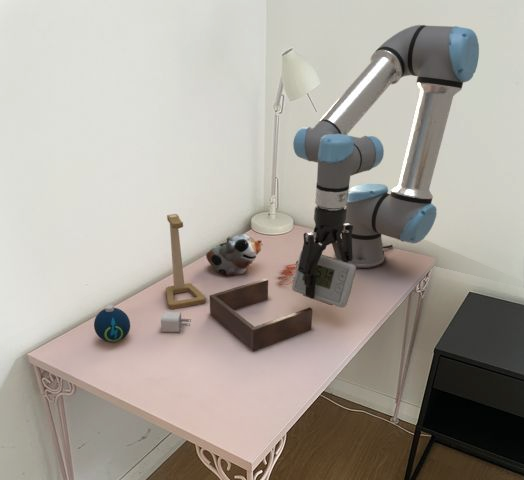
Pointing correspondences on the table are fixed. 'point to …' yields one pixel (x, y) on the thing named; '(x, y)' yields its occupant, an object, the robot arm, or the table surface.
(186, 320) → the usb wall charger
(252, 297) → the walnut rack
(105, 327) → the christmas ornament
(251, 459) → the table surface
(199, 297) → the headphone stand
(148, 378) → the table surface
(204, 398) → the table surface
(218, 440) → the table surface
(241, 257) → the spotted toy animal
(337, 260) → the digital clock
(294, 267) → the headphones
